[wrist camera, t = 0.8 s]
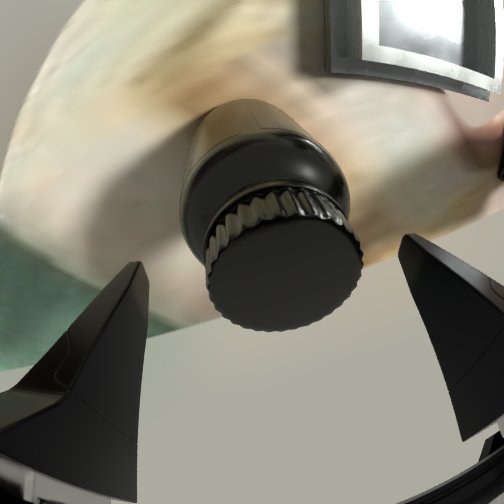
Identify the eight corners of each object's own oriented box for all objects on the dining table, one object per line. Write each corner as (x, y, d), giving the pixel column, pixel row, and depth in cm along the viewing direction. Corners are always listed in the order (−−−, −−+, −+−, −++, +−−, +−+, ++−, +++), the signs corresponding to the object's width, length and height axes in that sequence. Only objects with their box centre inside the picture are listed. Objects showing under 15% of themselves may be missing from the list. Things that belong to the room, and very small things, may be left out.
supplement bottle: (242, 214, 21) (267, 369, 12) (169, 149, 17) (118, 287, 8) (320, 153, 19) (418, 278, 9) (252, 74, 15) (314, 114, 6)
